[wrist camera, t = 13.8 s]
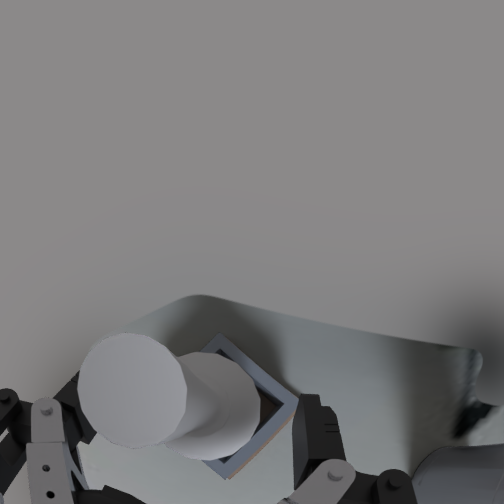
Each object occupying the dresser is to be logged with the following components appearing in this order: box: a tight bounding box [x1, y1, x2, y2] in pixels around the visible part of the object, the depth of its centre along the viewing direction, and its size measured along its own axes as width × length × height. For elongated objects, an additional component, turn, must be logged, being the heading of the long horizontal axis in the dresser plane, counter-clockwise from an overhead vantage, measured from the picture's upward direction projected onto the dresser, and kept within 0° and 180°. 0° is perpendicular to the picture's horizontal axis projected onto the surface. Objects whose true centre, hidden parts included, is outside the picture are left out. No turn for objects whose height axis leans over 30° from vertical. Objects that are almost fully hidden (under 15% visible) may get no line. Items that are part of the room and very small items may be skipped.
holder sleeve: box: [199, 332, 299, 480], centre depth 23 cm, size 11×11×7 cm
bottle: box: [77, 333, 260, 461], centre depth 15 cm, size 5×5×25 cm
